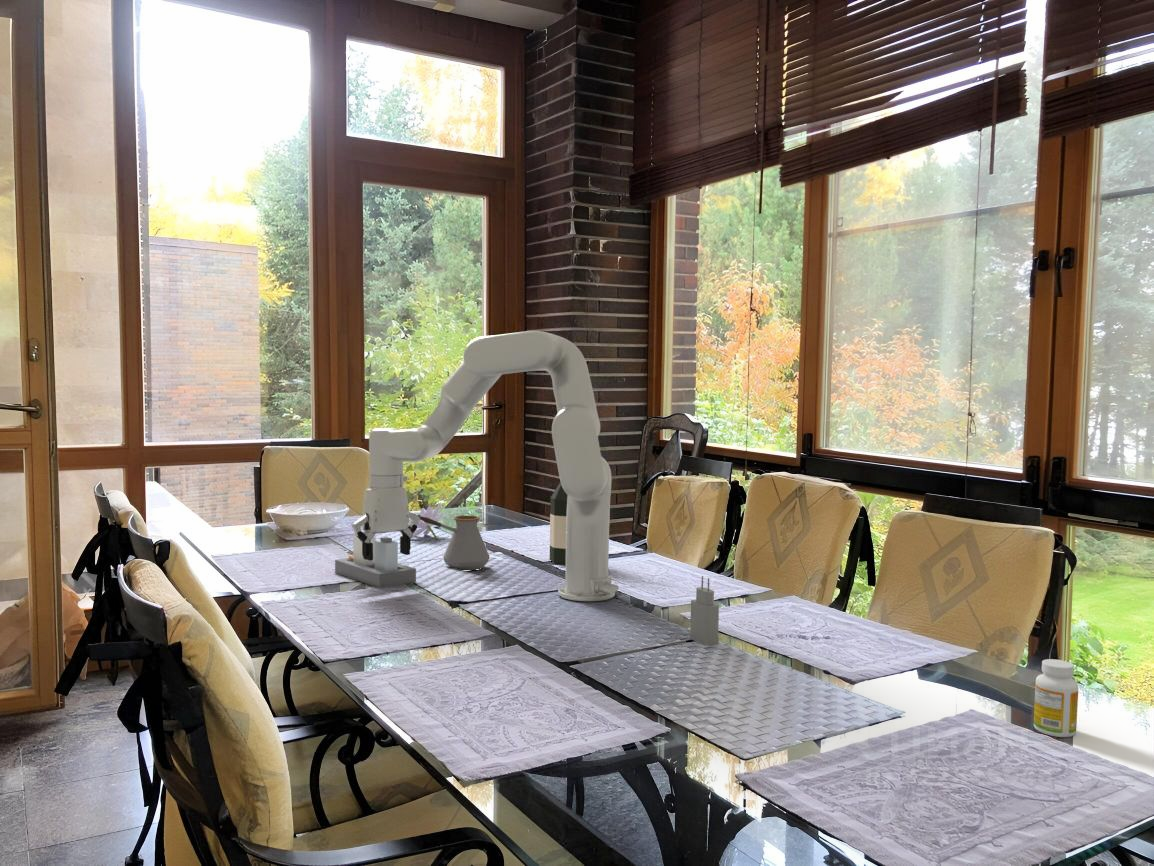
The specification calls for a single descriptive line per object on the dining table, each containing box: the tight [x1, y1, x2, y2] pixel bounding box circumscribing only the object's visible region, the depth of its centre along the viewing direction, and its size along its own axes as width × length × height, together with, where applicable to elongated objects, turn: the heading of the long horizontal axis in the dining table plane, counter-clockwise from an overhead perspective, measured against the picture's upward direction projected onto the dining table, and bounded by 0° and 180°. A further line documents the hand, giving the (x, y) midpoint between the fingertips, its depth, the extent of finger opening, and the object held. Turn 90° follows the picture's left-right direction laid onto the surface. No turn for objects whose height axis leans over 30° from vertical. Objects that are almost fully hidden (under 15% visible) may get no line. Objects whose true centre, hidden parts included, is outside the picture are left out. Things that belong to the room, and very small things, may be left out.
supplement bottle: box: [1033, 658, 1079, 738], centre depth 130 cm, size 5×5×10 cm
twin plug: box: [352, 530, 377, 565], centre depth 217 cm, size 5×3×10 cm, turn 43°
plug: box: [375, 536, 399, 572], centre depth 211 cm, size 5×3×10 cm, turn 42°
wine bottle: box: [549, 481, 568, 566], centre depth 239 cm, size 8×8×30 cm
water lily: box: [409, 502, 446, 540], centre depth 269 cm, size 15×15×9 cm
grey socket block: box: [334, 554, 417, 589], centre depth 214 cm, size 20×10×5 cm, turn 43°
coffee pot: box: [409, 513, 490, 571], centre depth 227 cm, size 21×12×15 cm, turn 123°
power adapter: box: [689, 575, 720, 646], centre depth 171 cm, size 3×5×12 cm, turn 30°
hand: (386, 556), depth 210 cm, fingers open, 9 cm apart
